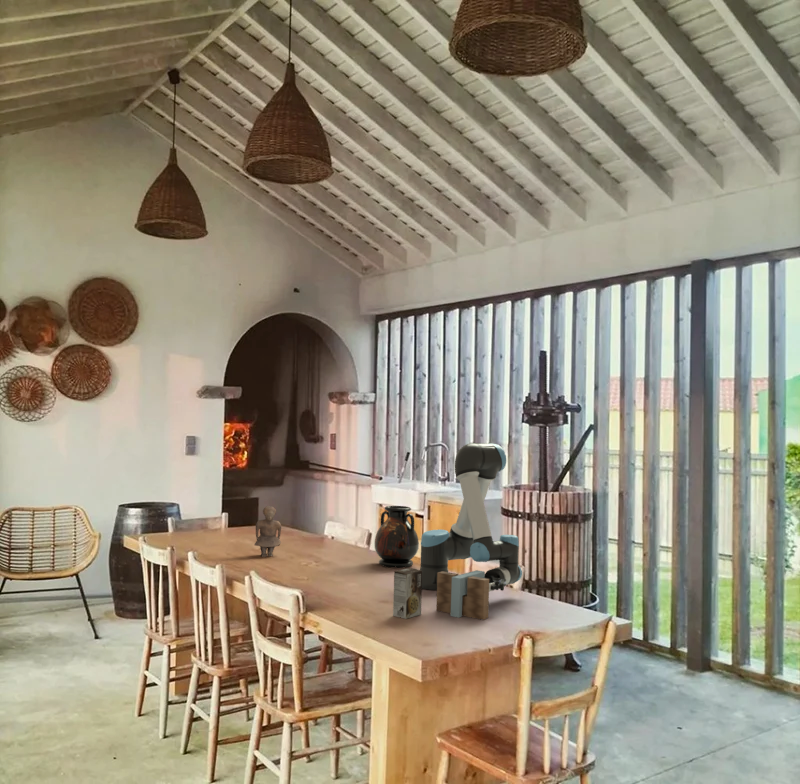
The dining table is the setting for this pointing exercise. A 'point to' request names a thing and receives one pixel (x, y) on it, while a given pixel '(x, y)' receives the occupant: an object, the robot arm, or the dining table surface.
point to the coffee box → (407, 593)
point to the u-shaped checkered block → (472, 603)
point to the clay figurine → (268, 532)
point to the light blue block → (461, 590)
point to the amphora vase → (396, 538)
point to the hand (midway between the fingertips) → (469, 586)
